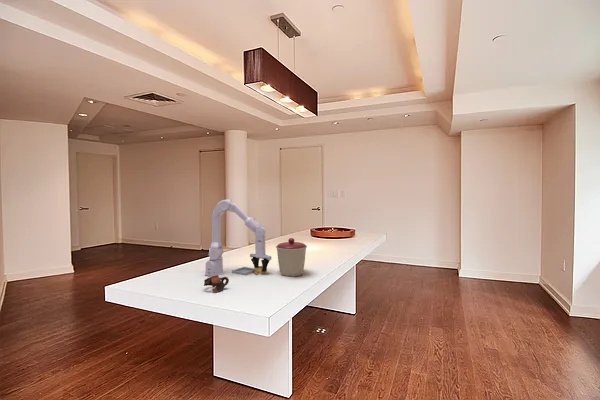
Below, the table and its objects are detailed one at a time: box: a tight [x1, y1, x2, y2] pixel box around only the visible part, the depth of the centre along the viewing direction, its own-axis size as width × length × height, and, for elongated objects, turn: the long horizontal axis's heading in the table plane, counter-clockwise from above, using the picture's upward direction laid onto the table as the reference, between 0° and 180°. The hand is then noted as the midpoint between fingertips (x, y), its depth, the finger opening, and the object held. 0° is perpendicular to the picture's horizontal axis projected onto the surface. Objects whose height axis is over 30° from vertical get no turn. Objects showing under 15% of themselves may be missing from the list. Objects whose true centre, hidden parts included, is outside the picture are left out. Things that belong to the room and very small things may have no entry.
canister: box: [275, 237, 308, 277], centre depth 187 cm, size 18×18×21 cm
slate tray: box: [231, 266, 254, 276], centre depth 191 cm, size 11×11×2 cm
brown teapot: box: [203, 275, 230, 294], centre depth 161 cm, size 12×10×8 cm
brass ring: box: [253, 265, 268, 275], centre depth 188 cm, size 6×5×3 cm
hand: (260, 270), depth 189 cm, fingers closed on brass ring, 5 cm apart
